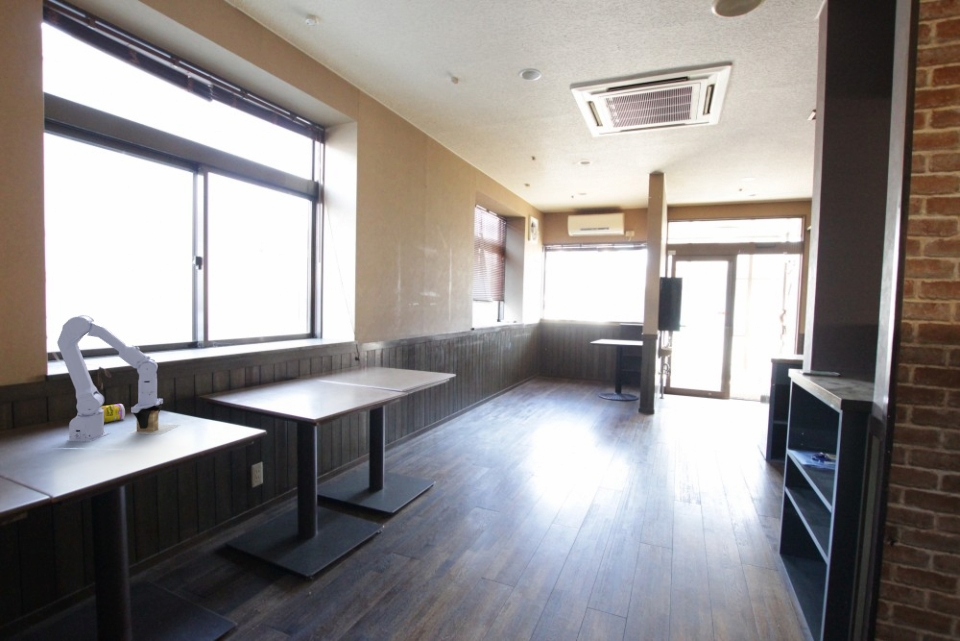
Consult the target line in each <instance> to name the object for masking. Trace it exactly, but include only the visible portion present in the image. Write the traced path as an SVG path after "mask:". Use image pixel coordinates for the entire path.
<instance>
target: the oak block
mask: <svg viewBox="0 0 960 641" xmlns="http://www.w3.org/2000/svg"><path fill="white" fill-rule="evenodd" d="M158 424H159V414H158V411H151V413H150V415H149V419H148V426H147V428H146V429H140V426H139V423H138V420H137V419H136V431H137V432H154V431H156V430H158Z"/></svg>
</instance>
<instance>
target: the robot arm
mask: <svg viewBox="0 0 960 641" xmlns="http://www.w3.org/2000/svg"><path fill="white" fill-rule="evenodd" d="M85 335H87V337H94V338H99V339H101V340H102V341H103V342H104V343H106V345H107V344H108V345H109V346H110V347H111V348H113V349H114V350H116V351H117V352H118V357H119V358H120V359H121V360H123V361H124V362H126V364H128V365H129V366H131V368H133V369H136V371H137V374H138V381H137V382H138V386H137V387H138V392H137V394H138V397H137V398H138V401H137V402H138V403H136V404H135V405H134V406H131V408H130V411H131V412H130V413H132V414H133V415H134V416H135V418H136V421H137V420H138V423H139V426H140V429H146V428H147V426H148V419H149V415H150V413H151V411H158V415H160V414H159V413H161V412H160V411H161V410H162V409H163V406H162V404H164V399H163V398H158V374H157V371H158V367H159V366H158V363H157V361H155V359H153V358H151V356H149V355H148V356H147V355H146V354H144V353H143V352H142V351H141V350H140V347H139V346H134V345H129V344H128V345H127V344H126V343H124V341H122V340H121V339H120V338H119V337H118V336H116V335H115V334H114V333H112V332H111V331H110V330H109V329H108V328H107V327H105V326H104V325H103V324H102V323H100V322H99V321H97V320H94V318H92V317H91V316H90V315H89V316H88V315H79V316H74V317H71V318H69V319H68V320H67V321H66V322H65V323H64V324H63V325H62V329H61V331H60V334H59V337H58V338H57V342H56V343H57V346H58V349H59V352H60V354H61V356H62V360H63V361H64V364H65V366H66V369H67V372H68V375H69V376H70V379H71V382H72V384H73V387H74V389H75V398H76V410H77V414H76V416H75V417H74V418H72V419H71V420H70V421H69V424H68V432H69V434H68V437H69V438H67V439H66V442H92V441H94V440H97V439H100V438H102V437H105V436H107V435H110V434H111V432H109V431H108V432H107V431H106V432H104V431H105V429H104V428H105V427H104V426H105V423H104V410H103V409H102V408H101V406H104V405H103V404H104V403H105V396H104V395H103V394H101V393H100V392H99V390H98V388H97V386H95V384H94V383H93V380H92V378H91V377H92V376H91V375H90V373H89V369H88V367H87V365H86V361H85V359H84V357H83V354H82V352H81V349H80V347H79V342H80V341H81V340H82V339H83V338H84V336H85Z"/></svg>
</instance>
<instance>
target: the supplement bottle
mask: <svg viewBox="0 0 960 641" xmlns="http://www.w3.org/2000/svg"><path fill="white" fill-rule="evenodd" d="M100 407H101V408H102V409H103V410H104V424H105V423H111V422H117V421H121V420H123V419H124V418H125V417H126V416H125V415H126V410H125V406H124V404H122V403H117V404H110V405H102V406H100Z"/></svg>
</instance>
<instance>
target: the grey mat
mask: <svg viewBox="0 0 960 641" xmlns="http://www.w3.org/2000/svg"><path fill="white" fill-rule="evenodd" d="M180 426H181V424H159V423H158V430H156V431H154V432H137V430H136V431H133V432H131V433H130V435H131V434H133V435H138V434H139V435H163V434H165V433H168V432H169V431H172V430H174V429H176V428H178V427H180Z"/></svg>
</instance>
